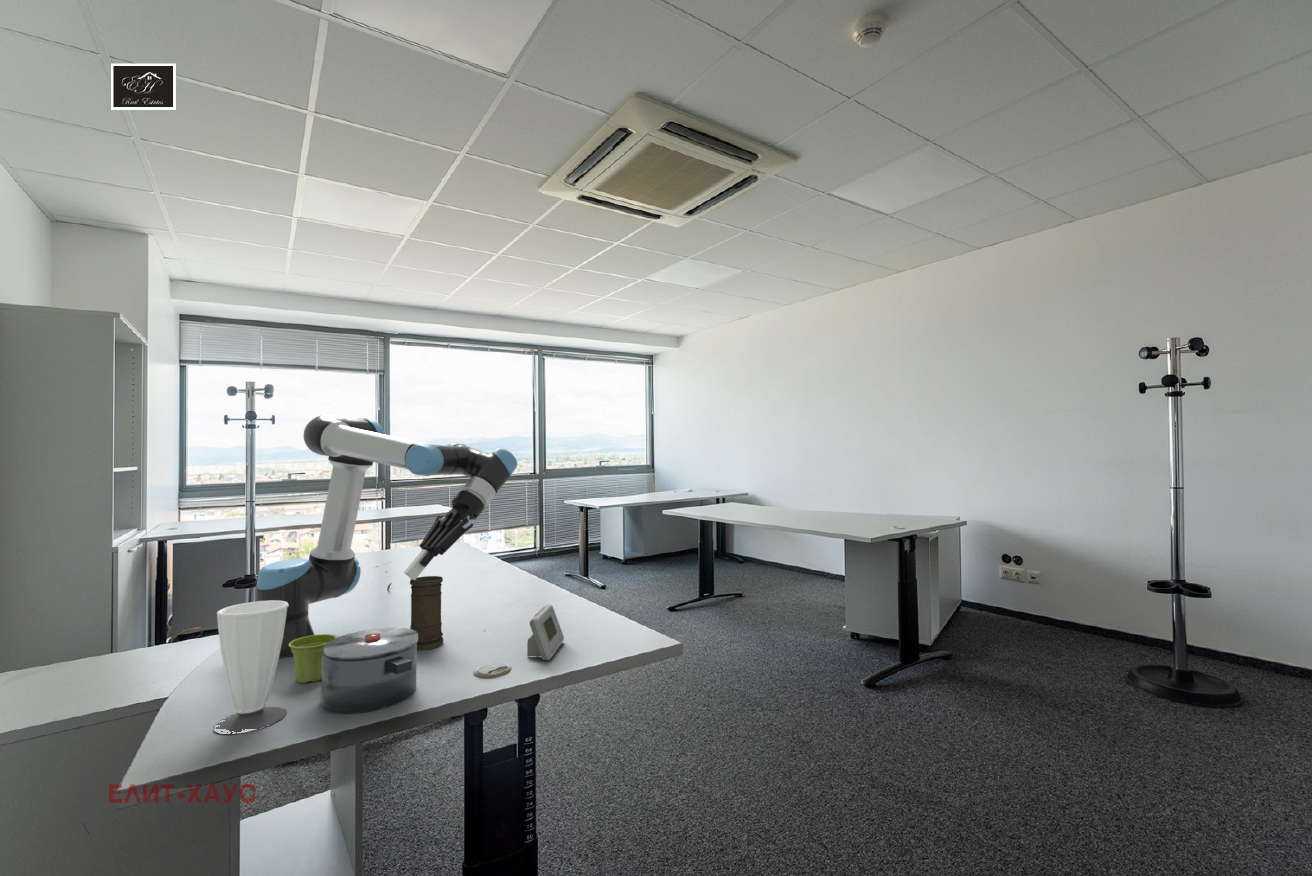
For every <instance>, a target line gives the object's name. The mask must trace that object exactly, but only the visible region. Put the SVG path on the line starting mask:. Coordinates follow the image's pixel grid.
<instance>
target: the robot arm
mask: <svg viewBox="0 0 1312 876" xmlns="http://www.w3.org/2000/svg"><path fill="white" fill-rule="evenodd" d="M303 440H304V444H305V445H306V447H307V448H308V449H309V450H310V451H311V452H312V453H315V454H316V455H319V456H326V457H328V458H327V459H328V462H329V463H330V464H331V465H332V469H331V470H332V471H331V475H330V480H329V485H328V490H327V494H326V495H327V496H326V499H325V500H326V501H325V505H324V511H323V516H322V521H321V526H320V531H319V537H318V542H317V546H316V547H314V548H312V549H311V550H310V552H309V556H308V558H303V557H301V558H300V557H299V558H296V557H295V558H290V559H284V560H278V561H275V562H272V563H269V564H266V565H264V566H262V567H261V569H260V570H259V571H258V573H257V581H256V589H257V590H256V602H257V601H269V600H279V601H286V602H287V603H288V604H289V606H288V607H287V614H286V621H285V628H284V634H283V640H282V645H281V650H280V654H279V657H280V658H286V657H290V656H293V653H292V651H291V647H289V643H290V642H291V641H293V640H296V639H299V638H302V637H306V636H312V635H316V633H315V632H314V629H313V626H312V624H311V622H310V618H309V605H311V604H314V603H318V602H322V601H326V600H329V599H330V600H331V599H336V598H339V597H341V596H343V595H345V594H349V593H350V592H352V591H353V590H354V589H355V588H356V586H357V584H358V583H359V580H360V578H361V573H362V570H361V566H359V564H360V562H359V560H358V559H357V558H356V553H355V551H353V549H352V548H351V547H352V544H353V538H354V535H355V534H354V532H355V528H356V523H357V518H358V512H359V508H360V502H361V497H362V492H363V486H364V483H365V477H366V472H367V470H368V469H370V468H371V467H373V465H374V463H376V464H381V465H385V466H390V467H394V468H399V469H403V470H406V471H407V470H409V472H410V473H411V474H414V475H416V476H425V477H429V476H445V475H447V476H450V475H451V476H452V475H454V476H455V475H456V476H457V475H462V476H465V477H468V478H469V480H468V481H467V482H466V483H465V484H464V485H463V486H462V488H461V490H460V491H459V492H458V493H457V494H456V495H455V496H454V498H453V499H452V500H451V505H452V508H451V509H450V510H448V511H447V512H446V514H445V515H444V516H441V515H437V516H436V518H435V521H434V522H433V525H431V527H430V529H429V530H428V531H427V533H426V535H425V536H424V538H423V539H422V540H421V542H420V544H419V546H418V547H419V548H420V549H421V551H420V552H419V553H418V554H417V556H416V557H415V558H414V560H413V561H412V562H411V563H410V564H409V565H408V566H407V567H406V568H405V570H404V571H403V574H405V575H406V576H407V577H408V578H409V579H410V580H411V579H412V580H416V578H418V577H420V575H421V574H422V572H423V571H424V570H425V569H426V567H427V566H429V564H430V562H431V561H432V560H433V559H434V557H438V555H440V556H443V555H444V554H445V553H446V552H448V550H449V549H450V548H451V547H452V546H453V545H455V544H456V542H457V541H458V540H459V539H460V538H461V537H462V536H464V534H465V533H466V532H468V530H470V529H472V528H473V526H474V524H473V523H472V521H471V520H476V519H478V518H479V517H480V515H481V513H482V512H484V510H485V507H487V506H488V505H489V504H490V503H491V502H492V499H493V498H494V497H495V496H496V494H497V493H498V491H499V490H501V488H502V487H503V486H504V484H505V483H506V482H507V481H508V480H509V479H510V478H511V477H512V475H513V473H514V472H515V470H516V469H517V467H518V461H517V458H516V457H515V455H514V454H513V453H512V452H511V451H509V450H507V449H505V448H502V447H501V448H498V447H497V448H495V449H494V451H492V452H491V453H489V452H484V451H481V450H479V449H476V448H473V447H470V446H469V445H466V444H463V443H462V444H461V443H458V442H450V443H449V444H447V445H438V444H433V443H432V444H431V443H428V442H422V441H418V440H417V441H416V440H412V439H407V438H404V437H403V438H402V437H397V436H393V435H388V434H386V432H385V430H384V428H383V427H382V425H381V424H380V423H379V422H378V421H376V420H375V419H372V418H367V417H362V416H352V415H337V414H328V413H327V414H322V415H318V416H316V417H314V418H312V419H311V420H310V421H308V423H307V424H306V426H305V428H304V430H303Z"/></svg>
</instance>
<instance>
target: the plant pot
mask: <svg viewBox="0 0 1312 876" xmlns="http://www.w3.org/2000/svg"><path fill="white" fill-rule="evenodd" d="M337 637H338V636H336V635H335V634H330V633H329V634H328V633H324V634H323V633H322V634H315V635H312V636H306V637H302V638H299V639H296V640H293V641H291V642H290V643H289V647H291V651H292V653H293V655H292V656H293V664H294V672H295V673H294V674H295V681H296V682H298V683H301V684H306V683H308V682H318V681H320V680H321V676H322V653H323V652H324V645H325V644H326V643H327V642H329V641H331V640H333V639H335V638H337Z"/></svg>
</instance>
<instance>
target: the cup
mask: <svg viewBox="0 0 1312 876" xmlns="http://www.w3.org/2000/svg"><path fill="white" fill-rule="evenodd" d="M288 606H289V604H288V603H287V602H286V601H279V600H269V601H257V600H256V601H251V602H244V603H238V604H234V605H231V606H225V607H224V608H222V609H220V610H218V611H217V612H216V618H217V619H216V620H217V629H218V637H219V639H218V640H219V646H220V648H219V649H220V654H221V659H222V664H223V665H222V666H223V669H224V675H225V680H226V684H227V687H228V691H229V696H230V698H231V701H232V704H233V706H234V707H233V708H234V710H235V713H234V714H231V715H230V716H231V717H229V718H228V716H227V718H226V717H225V718H226V719H224V718H223V719H222V720H225V721H223V722H220V723H218V722H217V723H218V724H217V723H216V724H215V725H220V727H219V726H218V727H216V729H226V730H229V731H230V732H231V733H230V734H232V733H233V732H232V731H234V732H236V733H237V732H241V731H242V729H243V730H245V729H260V728H262V727H265V726H267V725H270V726H272V724H273V725H274V723H275V722H276V723H278V722H279V721H278V720H280V721H281V719H282V718H283V719H284V717H285V716H286V715H287V710H286V709H285V708H282V707H280V706H267V701H268V698H269V695H270V693H271V691H272V687H273V683H274V680H275V675H276V670H277V667H278V664H279V659H280V658H279V654H280V650H281V645H282V640H283V634H284V628H285V621H286V614H287V607H288ZM277 721H278V722H277ZM276 723H275V724H276ZM213 727H214V726H213ZM265 728H266V727H265ZM214 729H215V727H214ZM262 729H263V728H262ZM260 730H261V729H260ZM221 732H223V731H221ZM227 733H228V732H227Z"/></svg>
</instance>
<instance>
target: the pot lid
mask: <svg viewBox="0 0 1312 876" xmlns="http://www.w3.org/2000/svg"><path fill="white" fill-rule="evenodd" d="M336 637H337V638H335V639H333V640H331V641H329V642H327V643H326V644H325V645H324V656H326V657H327V658H330V659H335V660H362V659H371V658H377V657H382V656H387V655H391V654H394V653H398V652H401V651H404V650H406V649H408V648H410V647H412V646H414V645H415V644H416V643H417V642H418V633H417V632H416V631H414V630H412V629H410V628H405V627H383V628H382V627H381V628H373V629H372V628H371V629H365V630H364V629H363V630H361V631H355V632H351V633H347V634H345V635H344V634H343V635H341V636H336Z"/></svg>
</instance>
